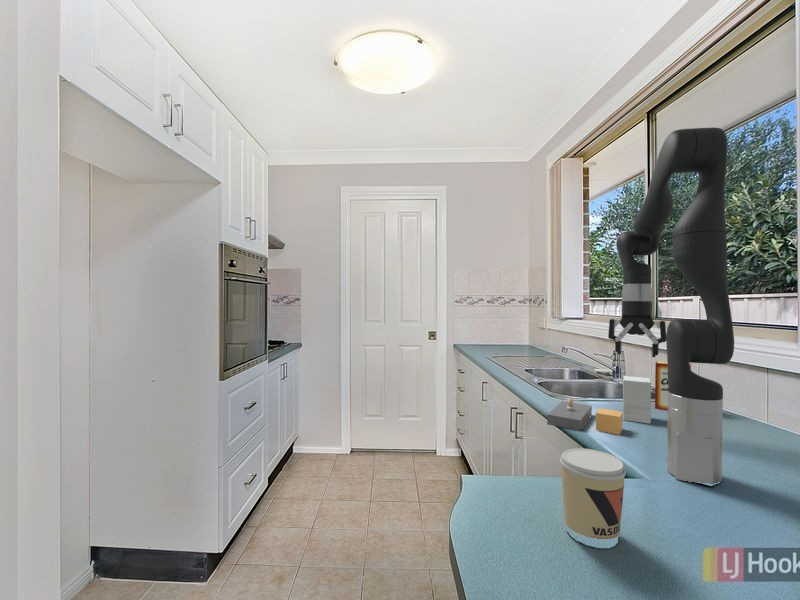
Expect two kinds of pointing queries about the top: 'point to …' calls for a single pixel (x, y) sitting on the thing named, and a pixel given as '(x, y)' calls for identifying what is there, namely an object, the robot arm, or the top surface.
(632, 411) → the supplement box
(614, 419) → the orange kitchen sponge
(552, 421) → the board
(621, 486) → the coffee cup
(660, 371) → the baking soda box
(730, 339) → the robot arm
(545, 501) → the top surface
